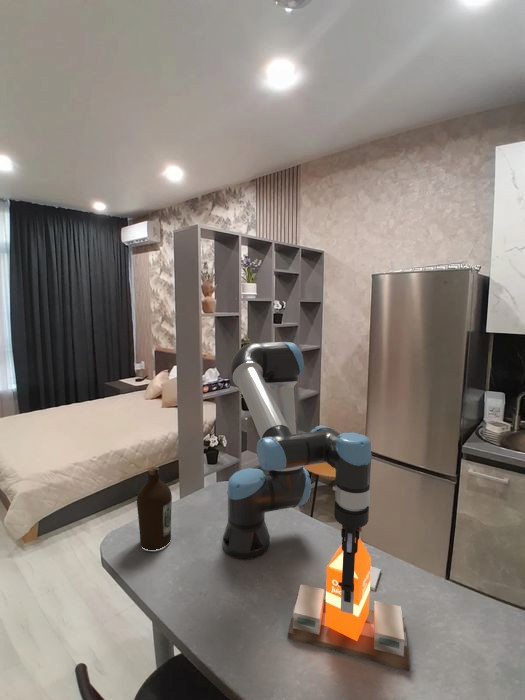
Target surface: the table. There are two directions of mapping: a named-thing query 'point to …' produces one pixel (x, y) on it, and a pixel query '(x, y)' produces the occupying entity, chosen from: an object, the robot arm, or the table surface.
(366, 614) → the orange juice
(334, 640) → the rail board
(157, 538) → the olive oil
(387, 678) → the table surface
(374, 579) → the external hard drive
